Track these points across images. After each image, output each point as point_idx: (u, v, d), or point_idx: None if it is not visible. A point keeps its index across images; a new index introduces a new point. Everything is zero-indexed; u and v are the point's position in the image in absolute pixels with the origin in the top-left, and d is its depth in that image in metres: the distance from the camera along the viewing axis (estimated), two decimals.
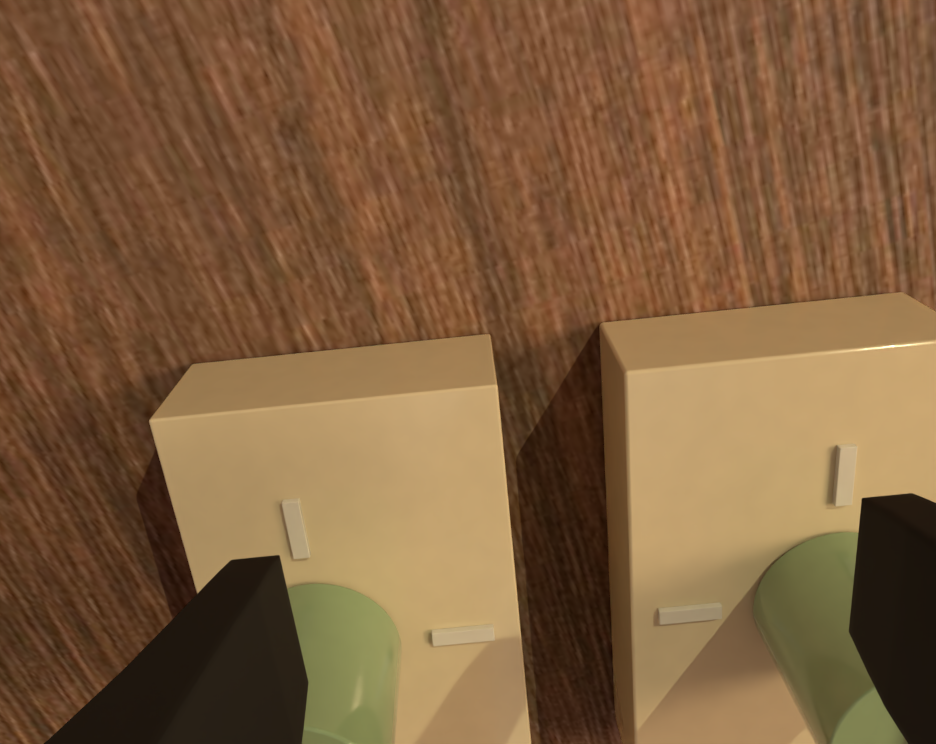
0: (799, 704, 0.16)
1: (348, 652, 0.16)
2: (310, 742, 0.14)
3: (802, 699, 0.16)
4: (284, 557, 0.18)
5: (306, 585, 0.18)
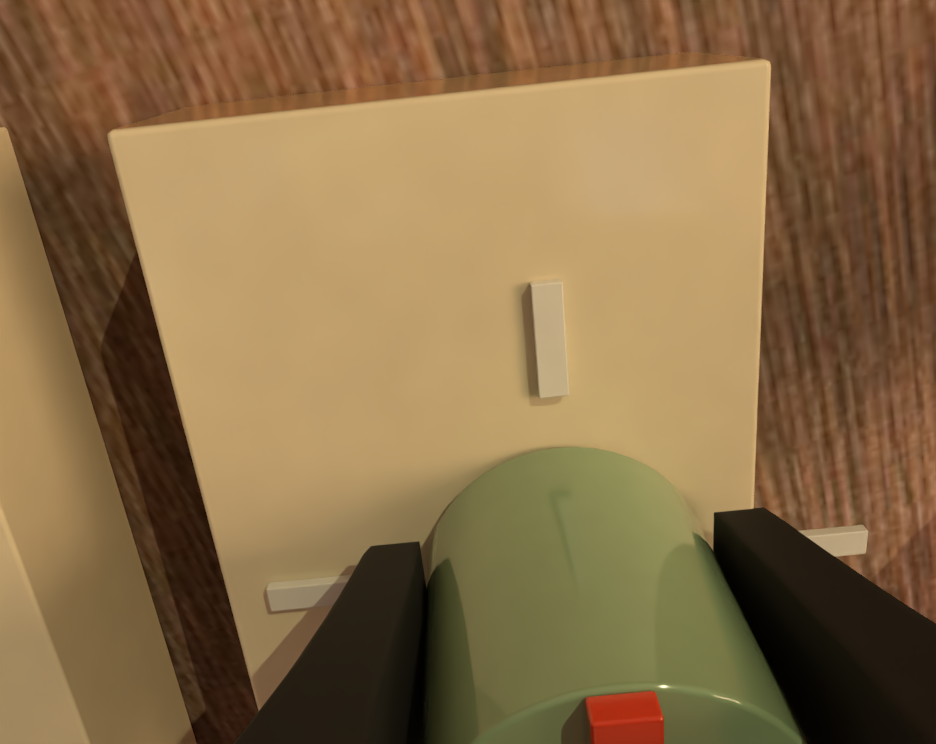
0: None
1: None
2: None
3: None
4: None
5: None
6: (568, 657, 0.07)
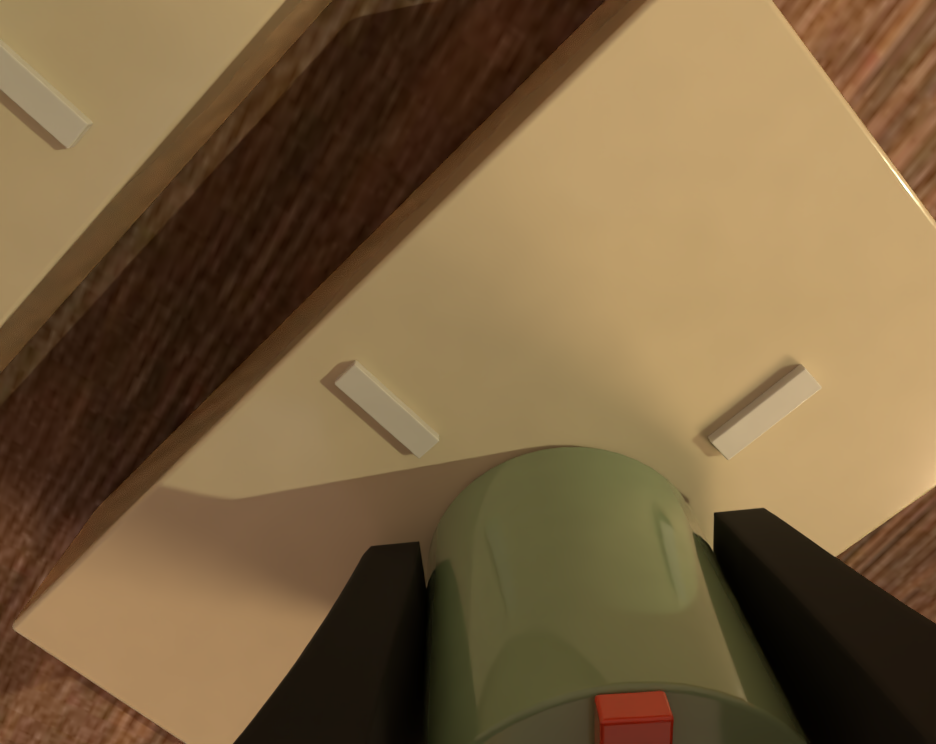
0: None
1: None
2: None
3: None
4: None
5: None
6: (578, 655, 0.07)
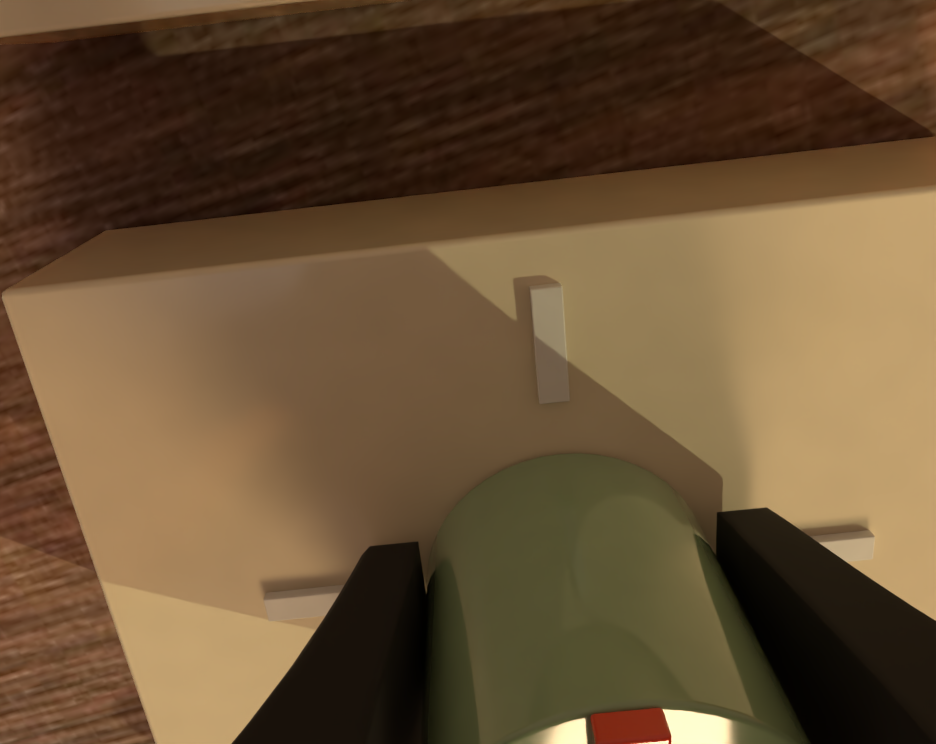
0: None
1: None
2: None
3: None
4: None
5: None
6: (574, 672, 0.07)
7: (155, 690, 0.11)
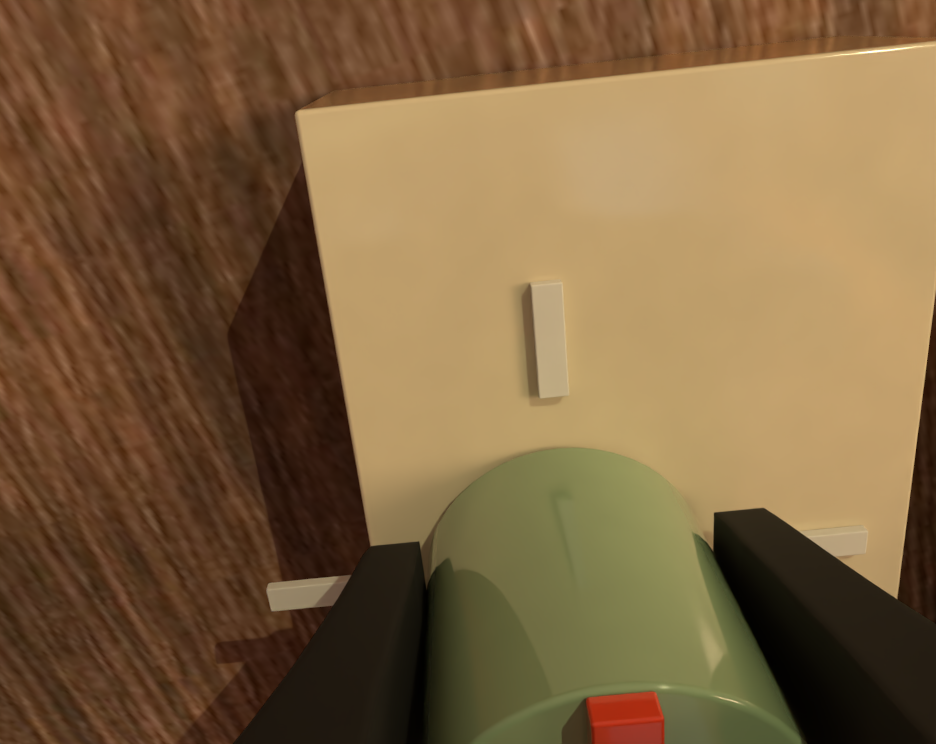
0: None
1: (684, 553, 0.08)
2: (695, 723, 0.07)
3: None
4: (517, 397, 0.10)
5: (552, 450, 0.10)
6: None
7: None
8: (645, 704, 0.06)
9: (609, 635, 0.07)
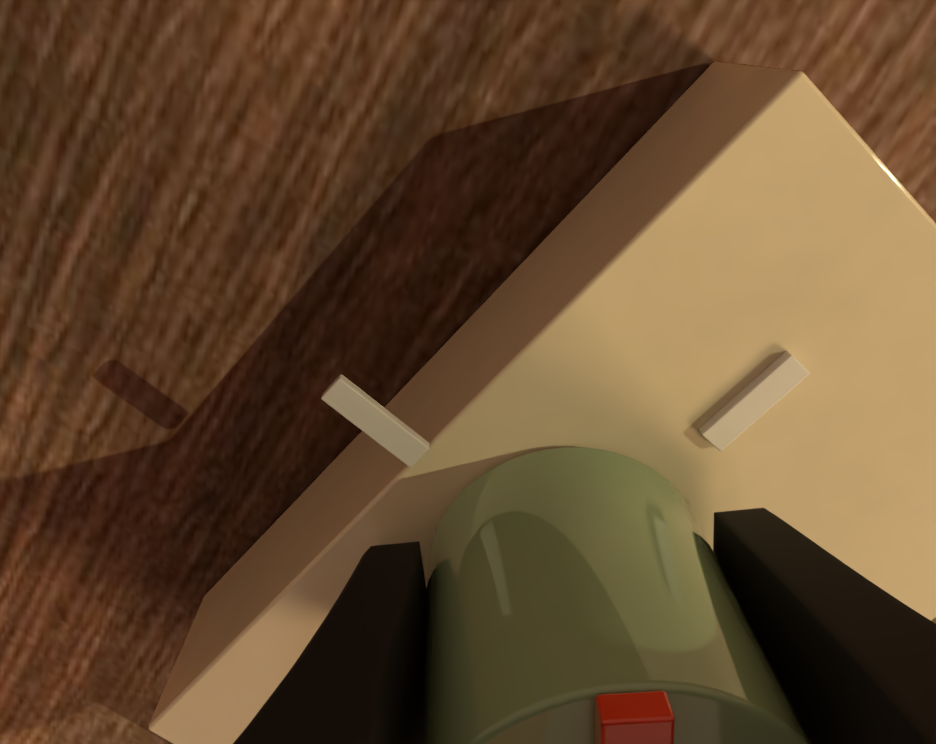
0: None
1: (690, 555, 0.08)
2: (702, 724, 0.07)
3: None
4: (683, 418, 0.10)
5: (559, 450, 0.10)
6: None
7: None
8: (655, 703, 0.06)
9: (618, 633, 0.07)
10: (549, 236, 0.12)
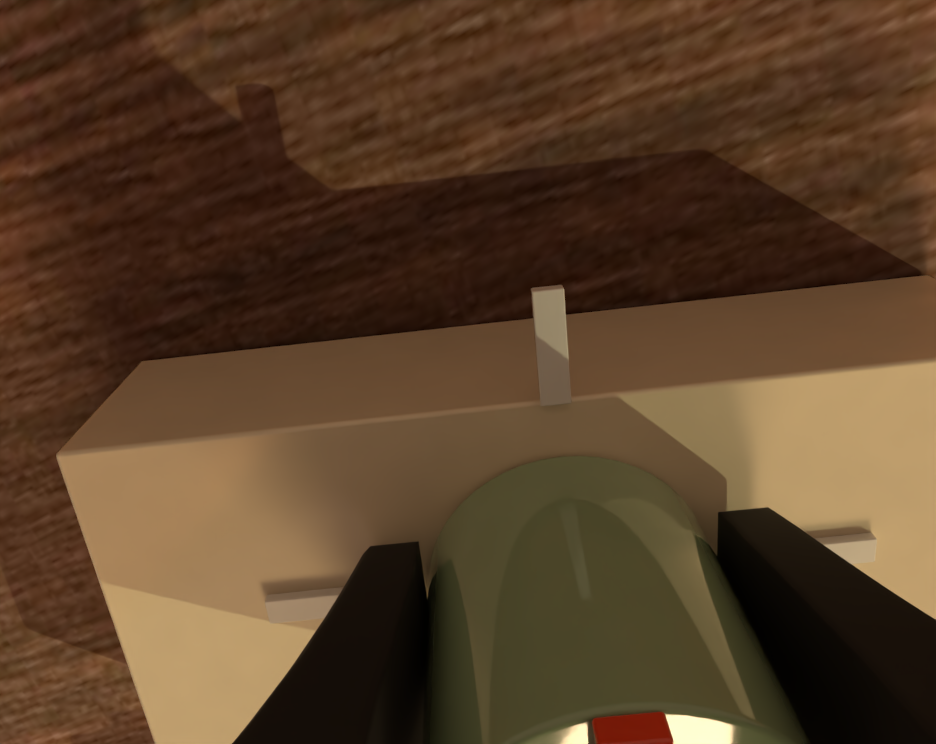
0: None
1: (691, 566, 0.08)
2: None
3: None
4: None
5: (555, 459, 0.10)
6: None
7: None
8: (653, 725, 0.06)
9: (615, 652, 0.07)
10: (714, 300, 0.12)
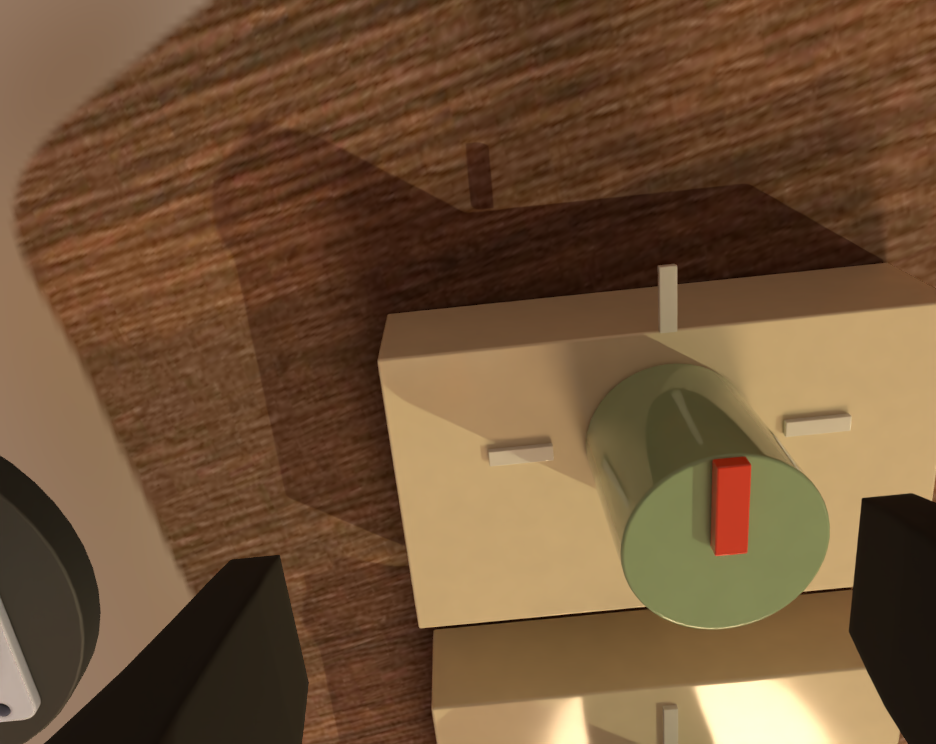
0: None
1: (748, 411, 0.15)
2: (763, 475, 0.14)
3: None
4: (782, 409, 0.18)
5: (666, 365, 0.17)
6: None
7: None
8: (741, 460, 0.13)
9: (719, 438, 0.14)
10: (752, 277, 0.19)
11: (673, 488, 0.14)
